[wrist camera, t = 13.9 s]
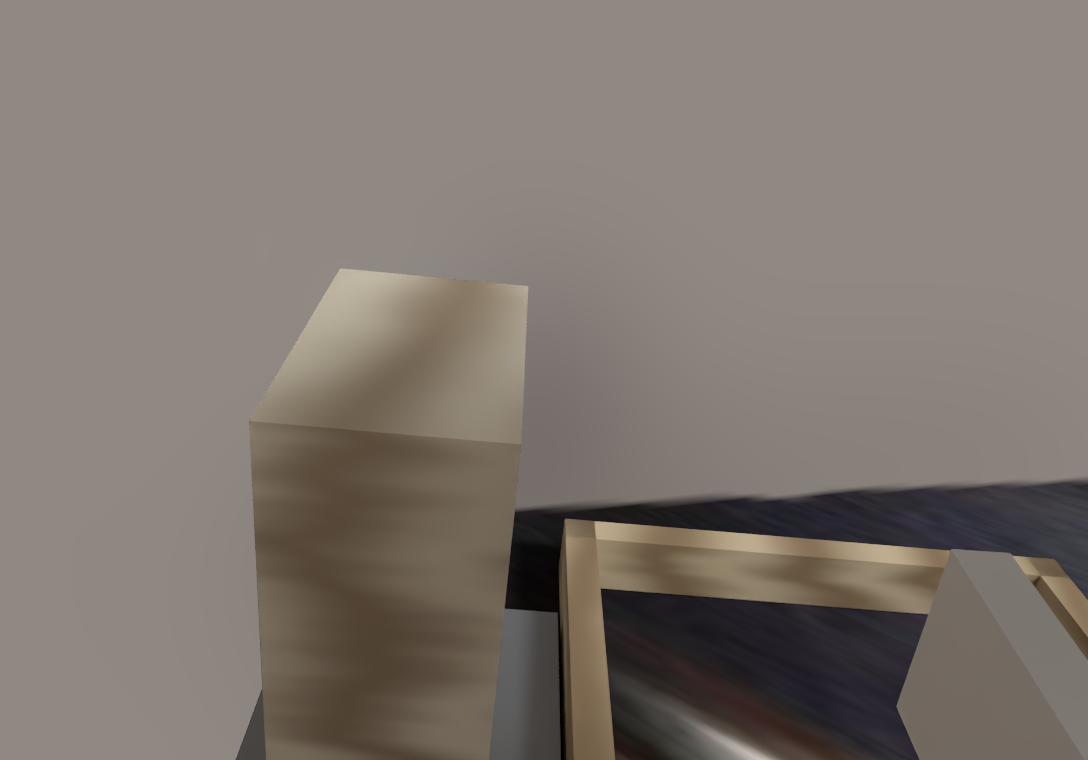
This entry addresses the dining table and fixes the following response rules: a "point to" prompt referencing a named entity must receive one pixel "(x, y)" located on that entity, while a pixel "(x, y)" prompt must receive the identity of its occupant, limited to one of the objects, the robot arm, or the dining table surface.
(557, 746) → the slate board
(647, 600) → the dining table surface
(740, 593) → the wooden frame
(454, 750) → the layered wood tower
